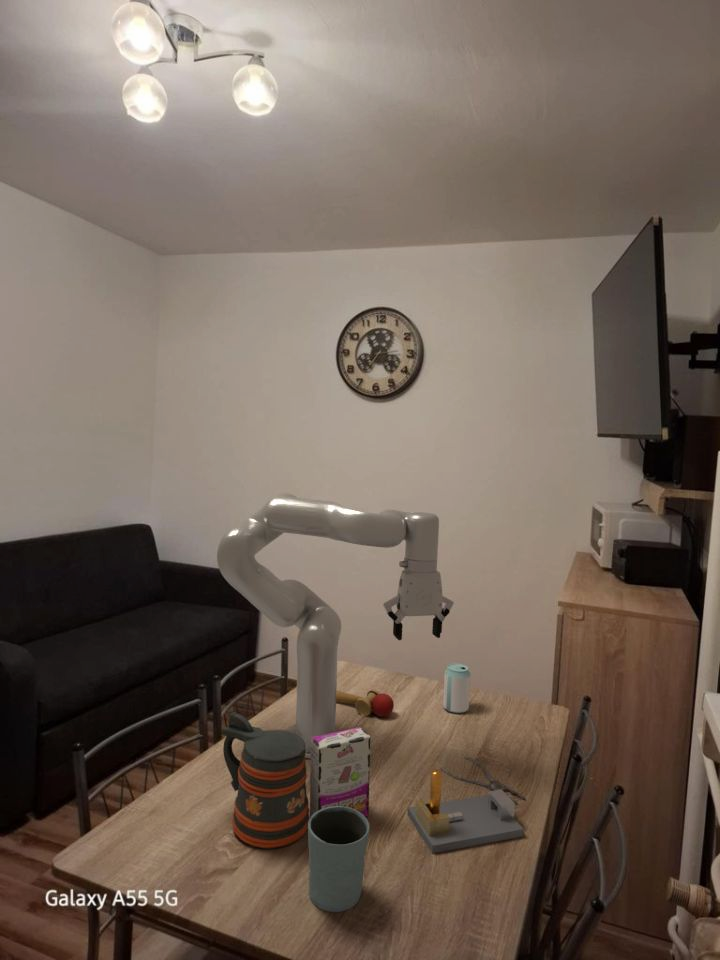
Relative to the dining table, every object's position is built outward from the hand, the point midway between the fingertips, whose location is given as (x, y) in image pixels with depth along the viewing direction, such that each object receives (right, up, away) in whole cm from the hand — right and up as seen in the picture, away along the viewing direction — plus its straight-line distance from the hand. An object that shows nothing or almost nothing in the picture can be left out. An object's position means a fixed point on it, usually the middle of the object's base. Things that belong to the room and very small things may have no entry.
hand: (417, 637), depth 148 cm
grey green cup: (-17, -31, -45) cm, 57 cm away
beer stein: (-33, -29, -26) cm, 51 cm away
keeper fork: (0, -29, -27) cm, 40 cm away
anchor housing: (+15, -29, -23) cm, 40 cm away
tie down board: (+7, -31, -25) cm, 40 cm away
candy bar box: (-18, -30, -24) cm, 42 cm away
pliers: (+15, -30, -8) cm, 34 cm away
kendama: (-13, -26, +24) cm, 38 cm away
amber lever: (+3, -29, -27) cm, 39 cm away
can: (+13, -27, +27) cm, 40 cm away
